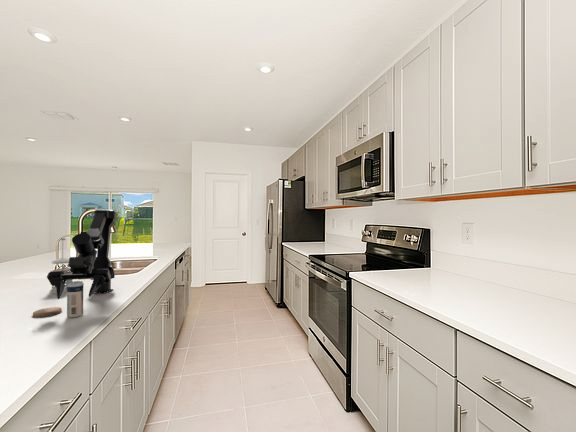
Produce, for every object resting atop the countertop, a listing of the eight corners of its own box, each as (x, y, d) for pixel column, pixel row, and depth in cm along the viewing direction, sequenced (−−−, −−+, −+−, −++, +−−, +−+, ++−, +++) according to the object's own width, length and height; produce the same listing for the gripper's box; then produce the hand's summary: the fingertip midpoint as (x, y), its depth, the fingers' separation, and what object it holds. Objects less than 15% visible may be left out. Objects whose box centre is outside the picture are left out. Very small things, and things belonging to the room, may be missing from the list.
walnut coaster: (49, 309, 108) (49, 306, 108) (67, 310, 106) (67, 308, 106) (26, 316, 100) (26, 313, 100) (45, 318, 98) (45, 315, 98)
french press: (71, 286, 142) (71, 236, 142) (79, 290, 135) (80, 237, 135) (45, 290, 134) (46, 237, 134) (54, 294, 127) (54, 239, 127)
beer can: (86, 314, 102) (87, 281, 102) (72, 319, 98) (73, 284, 98) (77, 313, 104) (77, 280, 104) (63, 317, 99) (63, 283, 99)
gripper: (49, 248, 102) (32, 286, 91) (109, 247, 108) (100, 282, 97) (59, 267, 109) (44, 304, 99) (114, 264, 115) (106, 299, 105)
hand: (74, 297), depth 100 cm, fingers open, 9 cm apart
